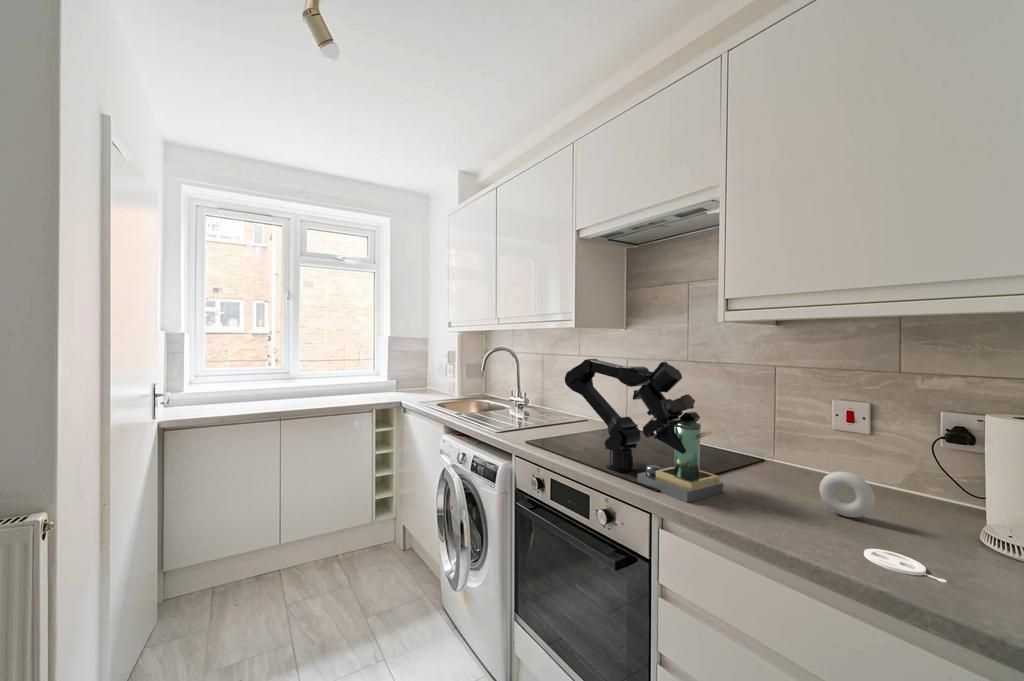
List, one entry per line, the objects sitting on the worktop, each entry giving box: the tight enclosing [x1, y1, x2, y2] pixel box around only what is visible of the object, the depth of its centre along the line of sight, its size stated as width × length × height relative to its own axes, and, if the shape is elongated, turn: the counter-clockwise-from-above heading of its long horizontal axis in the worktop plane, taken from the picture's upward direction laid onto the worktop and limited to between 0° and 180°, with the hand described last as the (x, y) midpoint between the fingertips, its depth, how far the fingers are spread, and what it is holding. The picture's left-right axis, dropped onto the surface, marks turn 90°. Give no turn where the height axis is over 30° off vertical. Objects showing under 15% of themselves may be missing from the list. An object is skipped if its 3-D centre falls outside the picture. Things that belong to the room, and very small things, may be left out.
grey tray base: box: [636, 464, 724, 503], centre depth 112 cm, size 16×14×4 cm
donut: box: [818, 470, 876, 519], centre depth 94 cm, size 10×4×10 cm, turn 39°
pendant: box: [863, 548, 948, 584], centre depth 74 cm, size 7×11×1 cm, turn 31°
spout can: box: [673, 421, 713, 481], centre depth 108 cm, size 10×6×14 cm, turn 35°
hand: (691, 451), depth 109 cm, fingers closed on spout can, 6 cm apart
